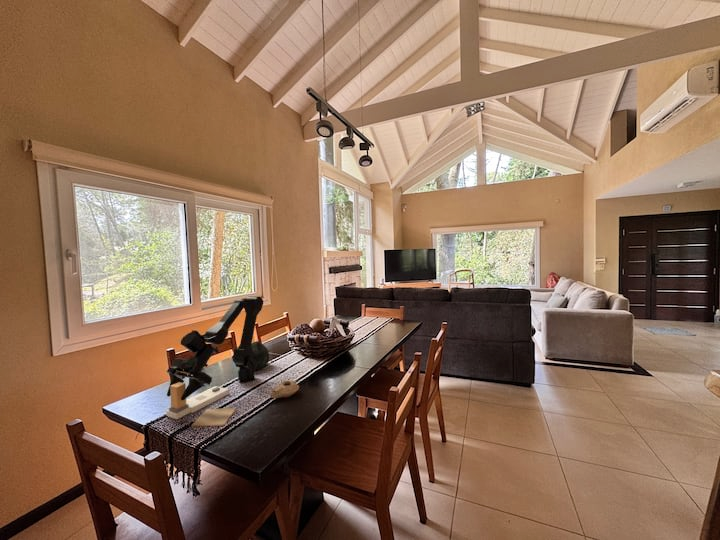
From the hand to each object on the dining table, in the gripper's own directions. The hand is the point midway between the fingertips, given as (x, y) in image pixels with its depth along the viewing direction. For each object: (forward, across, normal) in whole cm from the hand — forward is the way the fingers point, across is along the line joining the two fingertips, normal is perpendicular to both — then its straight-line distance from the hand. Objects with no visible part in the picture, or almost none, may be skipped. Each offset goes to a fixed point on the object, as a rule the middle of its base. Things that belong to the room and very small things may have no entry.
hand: (174, 398), depth 107 cm
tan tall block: (+4, 0, +6) cm, 7 cm away
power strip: (-2, 0, +11) cm, 11 cm away
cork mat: (+1, +14, +8) cm, 17 cm away
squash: (-28, -8, +38) cm, 48 cm away
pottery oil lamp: (-14, +27, +24) cm, 39 cm away
